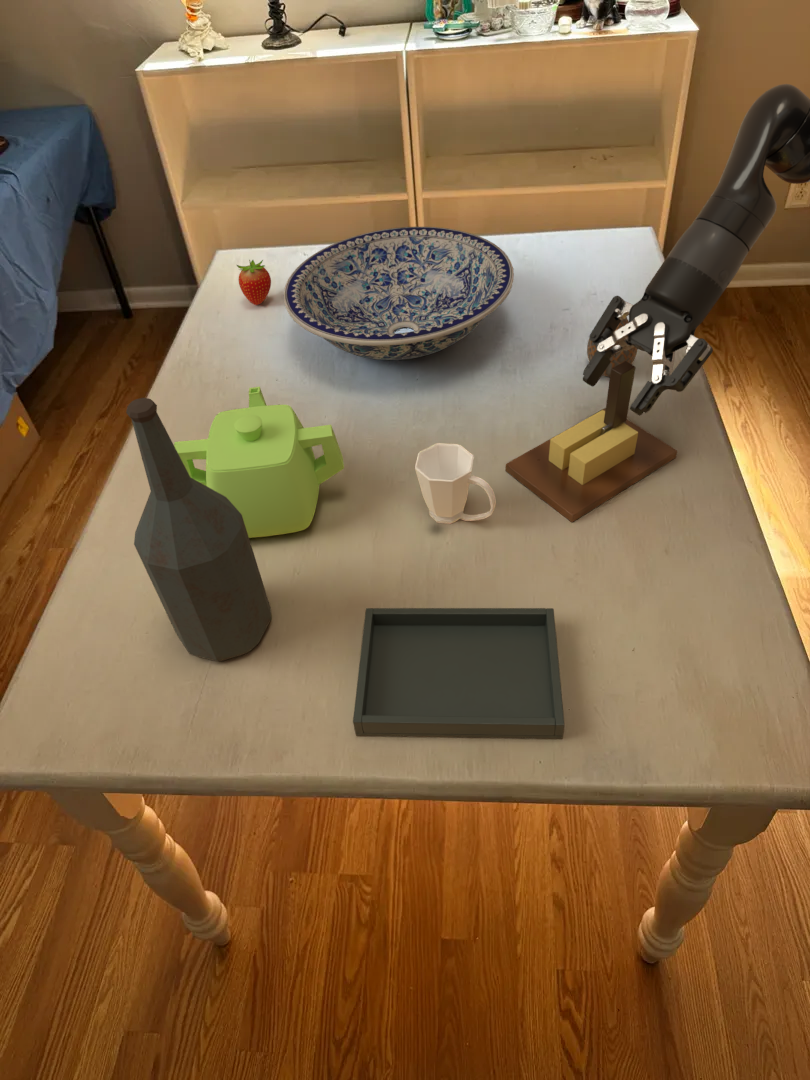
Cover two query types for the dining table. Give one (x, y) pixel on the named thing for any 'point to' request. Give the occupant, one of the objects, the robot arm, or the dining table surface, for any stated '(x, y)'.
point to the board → (584, 498)
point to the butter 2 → (602, 453)
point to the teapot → (265, 464)
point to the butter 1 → (575, 439)
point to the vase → (617, 359)
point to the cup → (449, 482)
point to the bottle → (196, 551)
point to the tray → (459, 673)
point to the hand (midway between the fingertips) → (610, 397)
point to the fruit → (254, 282)
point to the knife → (618, 395)
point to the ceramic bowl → (399, 290)
